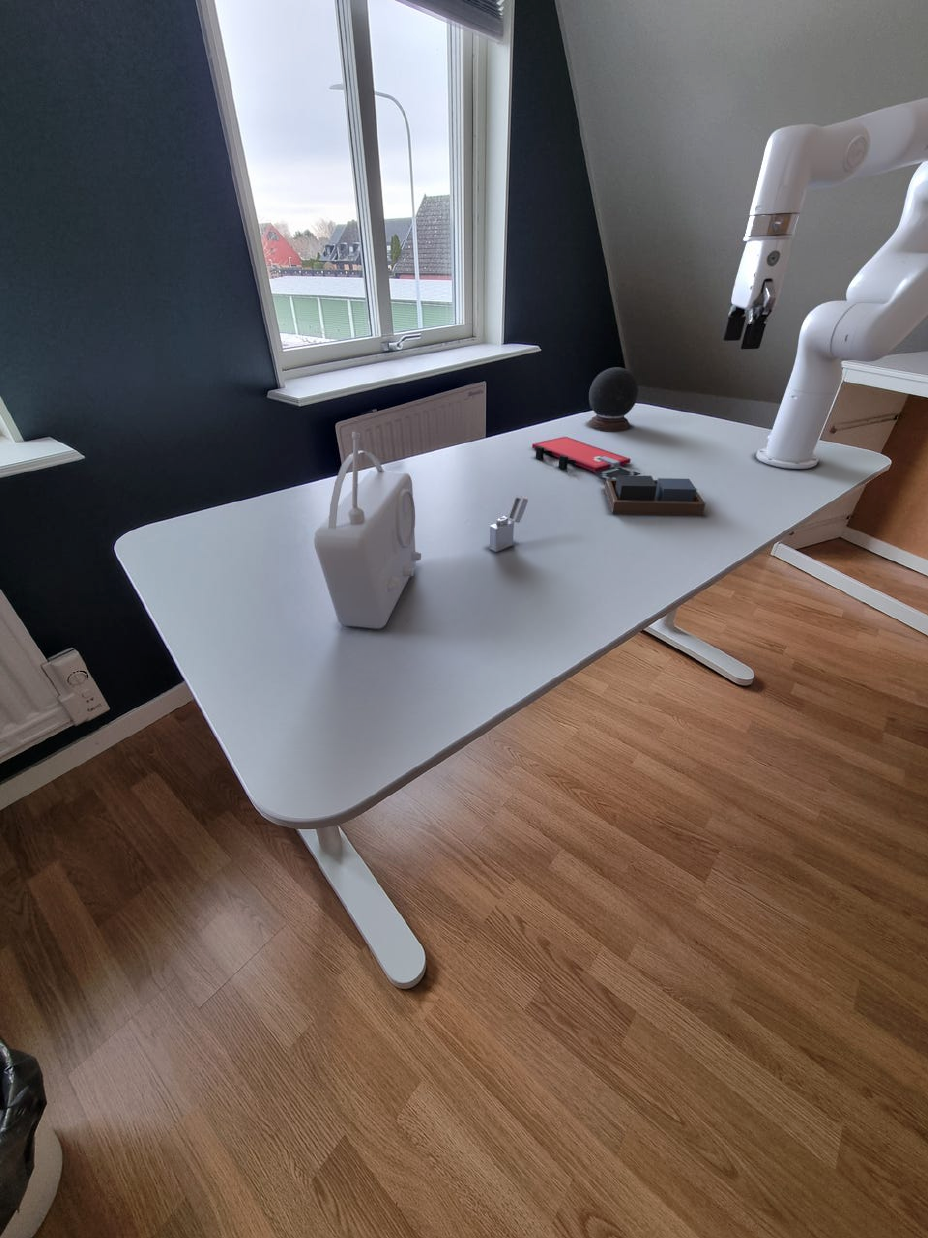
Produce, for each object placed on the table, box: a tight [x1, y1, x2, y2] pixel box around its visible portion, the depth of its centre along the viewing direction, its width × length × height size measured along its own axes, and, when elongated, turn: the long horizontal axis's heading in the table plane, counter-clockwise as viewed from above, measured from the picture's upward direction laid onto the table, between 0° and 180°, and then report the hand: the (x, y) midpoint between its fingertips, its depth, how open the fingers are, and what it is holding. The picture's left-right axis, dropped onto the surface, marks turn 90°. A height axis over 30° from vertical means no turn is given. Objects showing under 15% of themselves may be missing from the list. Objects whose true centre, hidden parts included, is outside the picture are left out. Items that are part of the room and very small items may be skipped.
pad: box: [655, 477, 698, 502], centre depth 97 cm, size 6×6×4 cm
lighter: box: [489, 495, 529, 553], centre depth 84 cm, size 7×2×8 cm, turn 129°
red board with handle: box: [531, 436, 642, 480], centre depth 117 cm, size 30×3×15 cm
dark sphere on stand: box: [588, 366, 639, 432], centre depth 138 cm, size 13×13×15 cm
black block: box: [615, 475, 657, 501], centre depth 98 cm, size 6×7×4 cm
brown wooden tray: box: [604, 478, 706, 517], centre depth 98 cm, size 12×17×2 cm
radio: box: [313, 431, 422, 630], centre depth 67 cm, size 22×8×25 cm, turn 170°
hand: (739, 344), depth 93 cm, fingers open, 9 cm apart
